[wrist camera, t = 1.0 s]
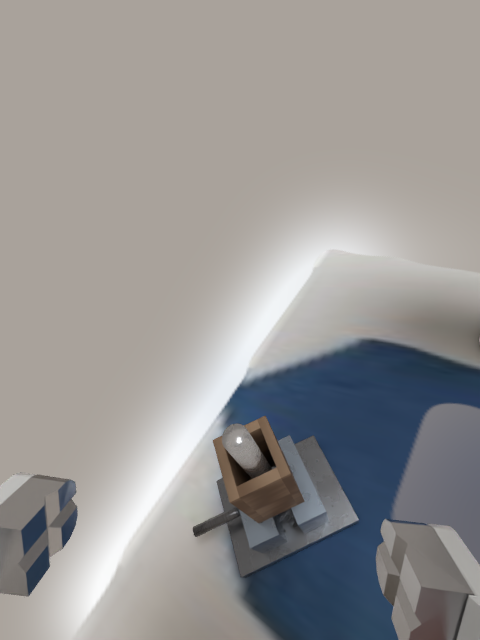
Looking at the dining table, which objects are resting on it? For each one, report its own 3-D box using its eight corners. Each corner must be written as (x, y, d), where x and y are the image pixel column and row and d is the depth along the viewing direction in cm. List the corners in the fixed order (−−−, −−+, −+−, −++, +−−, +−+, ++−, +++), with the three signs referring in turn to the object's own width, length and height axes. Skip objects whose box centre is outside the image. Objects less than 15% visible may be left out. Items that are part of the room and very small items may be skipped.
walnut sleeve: (283, 453, 33) (265, 415, 26) (304, 501, 29) (290, 473, 22) (242, 472, 32) (212, 440, 25) (258, 523, 29) (229, 502, 22)
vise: (314, 440, 40) (293, 346, 25) (358, 522, 33) (367, 464, 18) (200, 494, 40) (104, 433, 24) (221, 589, 33) (103, 591, 17)
